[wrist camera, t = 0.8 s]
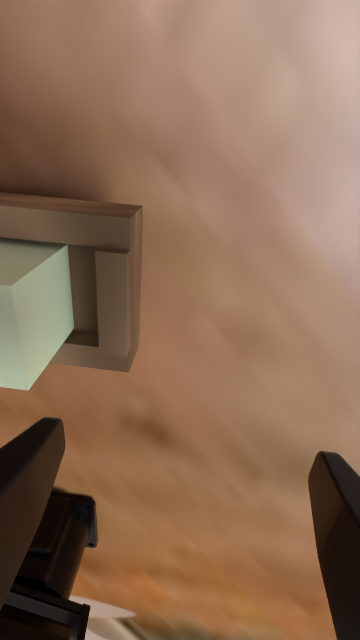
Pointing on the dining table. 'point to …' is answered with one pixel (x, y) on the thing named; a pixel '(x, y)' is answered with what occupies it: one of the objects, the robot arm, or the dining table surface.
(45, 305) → the pale green cube
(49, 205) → the beam
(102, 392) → the dining table surface
